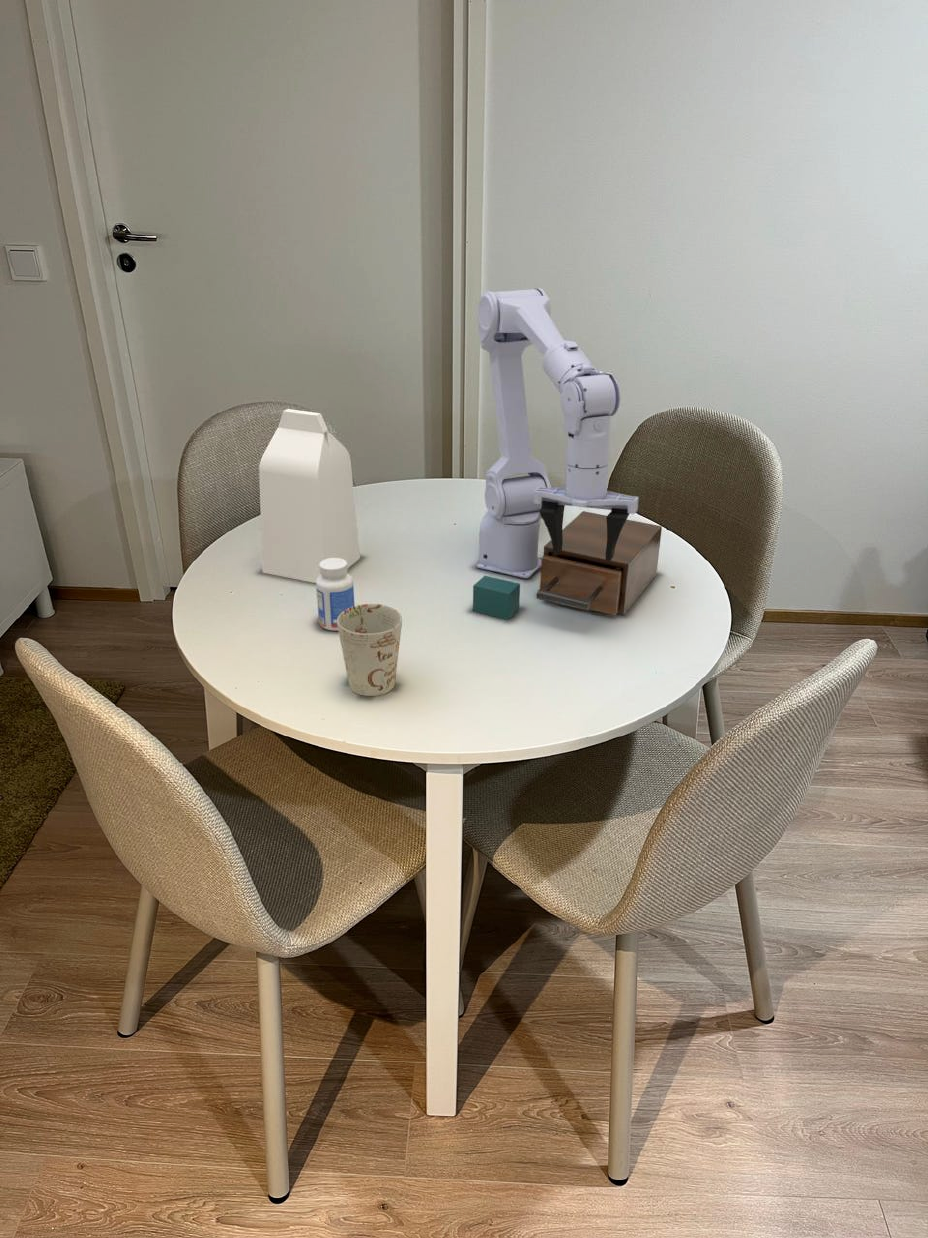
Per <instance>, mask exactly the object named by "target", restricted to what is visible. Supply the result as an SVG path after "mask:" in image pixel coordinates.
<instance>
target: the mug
mask: <svg viewBox="0 0 928 1238" xmlns="http://www.w3.org/2000/svg"><path fill="white" fill-rule="evenodd" d="M337 626H338V631H337V632H338V636H339V641H340V646H341V650H342V655H343V661H344V667H345V669H346V670H345V671H346V676H347V681H348V685H349V688H350V689H351V691H353V693H355V694H357V695H360V696H364V697H377V696H383V695H385V694H387V693H389V692H390V691H392V690H393V689H394V687H395V685H396V679H397V678H396V676H397V669H398V660H399V652H400V645H401V635H402V626H403V616H402V614H401V612H399V610H397V609H395V608H394V607H393V606H389V605H385V604H380V603H365V604H364V603H363V604H358V605H355V606H353V607H350V608H348V609H346V610H344V611H343V612H342V613H341V614H340V615H339V616H338V618H337Z"/></svg>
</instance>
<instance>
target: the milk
mask: <svg viewBox="0 0 928 1238" xmlns="http://www.w3.org/2000/svg"><path fill="white" fill-rule="evenodd" d="M322 415H323V414H322V413H320V412H314V411H306V410H298V409H292V408H287V409H285V410H283V411H282V414H281V417H280V421H279V423H278V427H277V429H276V430H275V432H274V434H273V435H272V438H271V439H270V441H269V443H268V444H267V447H266V448H265V450H264V452H263V454H262V456H261V458H260V461H259V465H258V477H259V507H260V508H259V509H260V536H261V537H260V538H261V565H262V567H261V569H262V573H263V574H268V575H273V576H278V577H283V578H287V579H288V578H289V579H294V580H298V581H303V582H307V583H314V584H316V580H317V578H318V577H319V576H320V575H321V574H320V571H319V564H320V562H321V561H323V560H325V559H328V558H341V559H344V560H345V561H346V562H347V568H348V569H349V568H350V567H351V566H352V565H354V564H355V563H356V562H357V561H359V560H360V559H361V552H360V551H361V550H360V542H359V541H360V540H359V531H358V522H357V521H358V520H357V511H356V501H355V492H354V481H353V472H352V471H353V470H352V463H351V461H352V460H351V456H350V453H349V450H347V448H346V447H345V446H344V444H342V443H341V442H340V441H339V440H338V439H337V438H336V437H335V436H334V435H333V434H332V433H331V432H330V431H329V430H328V427H327V424H326V422H325V420H324V418H323V416H322Z"/></svg>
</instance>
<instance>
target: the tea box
mask: <svg viewBox="0 0 928 1238" xmlns="http://www.w3.org/2000/svg"><path fill="white" fill-rule="evenodd" d="M520 596H521V583H519V582H514V581H509V580H506V579H503V578H502V579H501V578H497V577H493V576H489V575H484V576H483V577H481V578H480V579H478V581H477V582H476V583H474V584H473V586H472V612H475V613H479V614H483V615H486V616H490V617H495V618H499V619H503V620H508V621H509V620H510V619H511V618H512V617H513V616H514V615H515V614H516V613H517V612H518V611H519V610H520Z"/></svg>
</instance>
